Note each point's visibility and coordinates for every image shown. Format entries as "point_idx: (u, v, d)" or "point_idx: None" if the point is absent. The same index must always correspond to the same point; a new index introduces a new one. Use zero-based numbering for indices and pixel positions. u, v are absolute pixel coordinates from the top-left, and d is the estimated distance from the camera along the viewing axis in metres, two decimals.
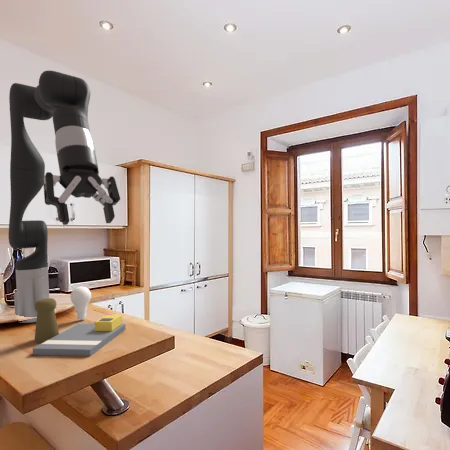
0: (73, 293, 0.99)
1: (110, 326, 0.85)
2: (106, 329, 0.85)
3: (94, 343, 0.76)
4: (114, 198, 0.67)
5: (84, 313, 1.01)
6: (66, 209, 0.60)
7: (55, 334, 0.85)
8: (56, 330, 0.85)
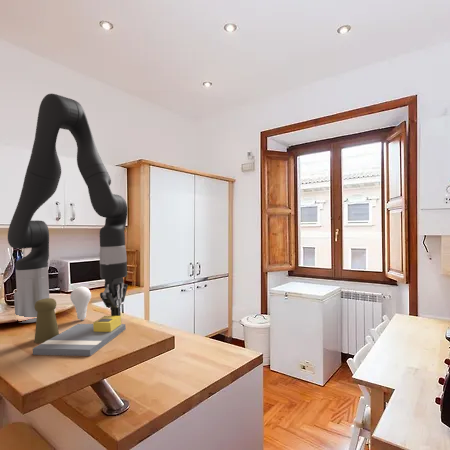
0: (73, 293, 0.99)
1: (108, 327, 0.84)
2: (105, 330, 0.84)
3: (94, 343, 0.76)
4: (121, 300, 0.94)
5: (84, 313, 1.01)
6: (118, 311, 0.92)
7: (55, 334, 0.85)
8: (56, 330, 0.85)
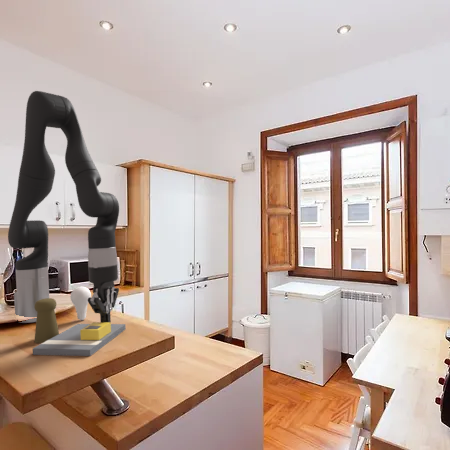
0: (73, 293, 0.99)
1: (97, 335, 0.78)
2: (93, 338, 0.79)
3: (94, 343, 0.76)
4: None
5: (84, 313, 1.01)
6: (108, 317, 0.86)
7: (55, 334, 0.85)
8: (56, 330, 0.85)
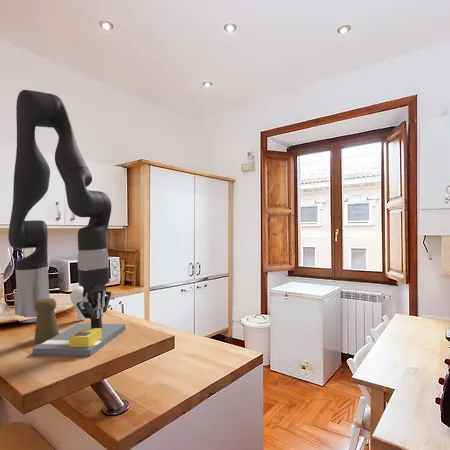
0: (73, 293, 0.99)
1: (86, 342, 0.74)
2: (82, 345, 0.74)
3: (94, 343, 0.76)
4: (103, 310, 0.84)
5: None
6: (99, 323, 0.81)
7: (55, 334, 0.85)
8: (56, 330, 0.85)
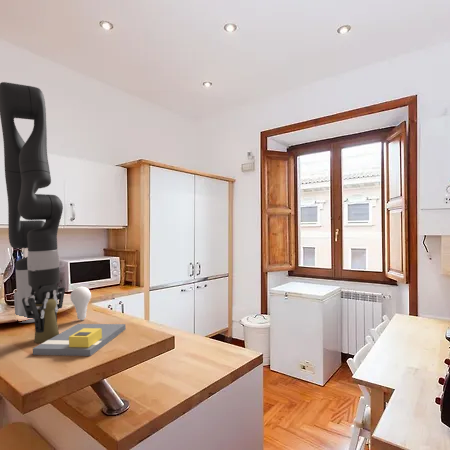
0: (73, 293, 0.99)
1: (86, 342, 0.74)
2: (82, 345, 0.74)
3: (94, 343, 0.76)
4: (58, 306, 0.89)
5: (84, 313, 1.01)
6: (44, 322, 0.83)
7: (55, 334, 0.85)
8: (56, 330, 0.85)
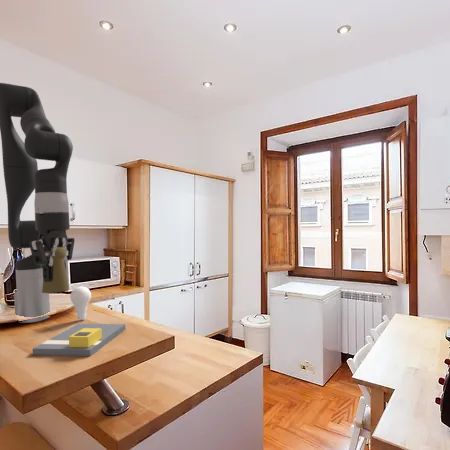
0: (73, 293, 0.99)
1: (86, 342, 0.74)
2: (82, 345, 0.74)
3: (94, 343, 0.76)
4: (68, 257, 0.82)
5: (84, 313, 1.01)
6: (52, 271, 0.76)
7: (65, 285, 0.77)
8: (66, 281, 0.78)
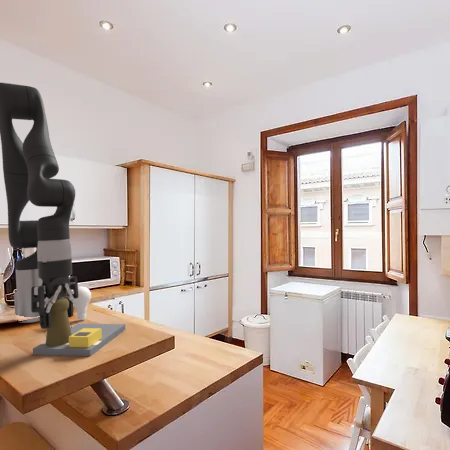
0: (73, 293, 0.99)
1: (86, 342, 0.74)
2: (82, 345, 0.74)
3: (94, 343, 0.76)
4: (75, 296, 0.84)
5: (84, 313, 1.01)
6: (50, 317, 0.74)
7: (68, 336, 0.78)
8: (69, 332, 0.78)
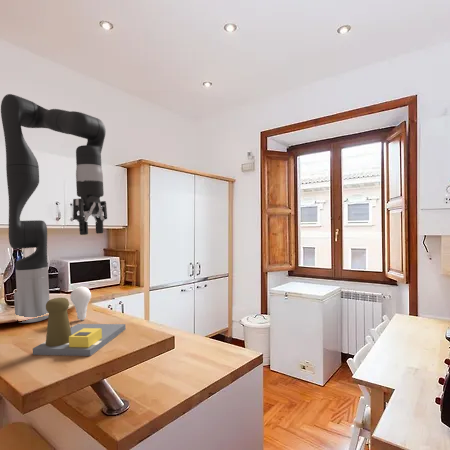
0: (73, 293, 0.99)
1: (86, 342, 0.74)
2: (82, 345, 0.74)
3: (94, 343, 0.76)
4: (104, 217, 1.00)
5: (84, 313, 1.01)
6: (87, 226, 0.91)
7: (68, 337, 0.78)
8: (69, 332, 0.78)
